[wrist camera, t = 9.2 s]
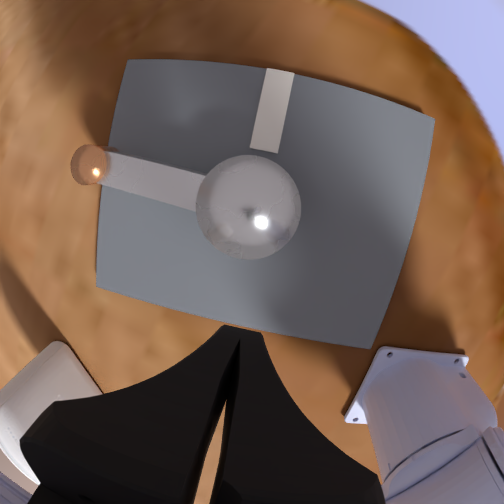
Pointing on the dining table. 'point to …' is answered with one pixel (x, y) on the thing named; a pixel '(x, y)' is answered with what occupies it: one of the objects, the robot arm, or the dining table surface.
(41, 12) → the dining table surface
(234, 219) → the lever with ball knob
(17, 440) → the photo printer
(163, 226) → the lock plate
